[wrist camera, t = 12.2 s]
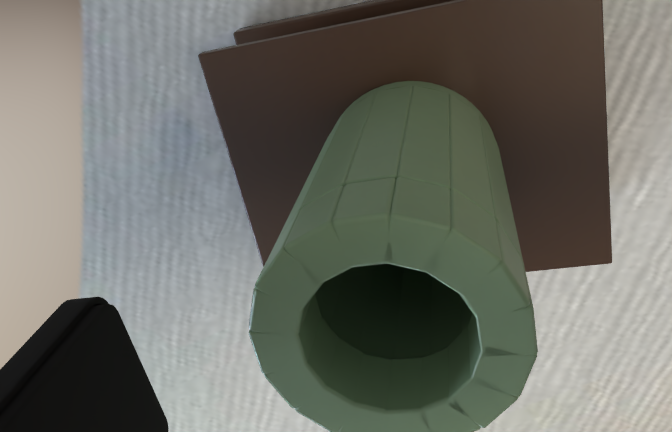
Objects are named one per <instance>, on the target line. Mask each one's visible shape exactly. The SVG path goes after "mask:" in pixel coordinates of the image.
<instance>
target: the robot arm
mask: <svg viewBox="0 0 672 432" xmlns="http://www.w3.org/2000/svg"><path fill="white" fill-rule="evenodd" d="M0 432H168V422H167V419H166V417H165V415H164V412H163V410H162V408H161V406H160V404H159V401H158V399H157V397H156V395H155V392H154V390H153V388H152V386H151V384H150V381H149V379H148V377H147V375H146V372H145V370H144V368H143V366H142V364H141V361H140V359H139V357H138V355H137V352H136V350H135V348H134V346H133V344H132V341H131V339H130V337H129V335H128V332H127V330H126V328H125V326H124V324H123V321H122V319H121V317H120V315H119V313H118V311H117V309H116V308H115V307H114V306H113V305H110V304H108V302H107V301H106V300H105V299H103V298H101V297H92V298H81V299H72V300H67V301H66V302H64V303H63V304H61V306H60V307H59V308H58V309H57V310H56V311H55V312H54V313H53V314H52V315H51V316H50V317H49V318H48V319H47V321H46V322H44V324H43V325H42V326H41V327H40V328H39V329H38V330H37V331H36V332H35V333H34V334H33V335H32V337H30V339H29V340H28V341H27V342H26V343H25V344H24V345H23V346H22V347H21V348H20V349H19V350H18V351H17V352H16V354H15V355H14V356H13V357H12V358H11V359H10V360H9V361H8V362H7V363H6V364H5V365H4V367H2V369H1V370H0Z"/></svg>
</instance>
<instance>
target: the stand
mask: <svg viewBox="0 0 672 432" xmlns="http://www.w3.org/2000/svg"><path fill="white" fill-rule="evenodd" d="M234 37H235V41H236V45H234V46H230V47H225V48H220V49H215V50H210V51H205V52H202V53H201V54H199V55H198V57H199V60H200V63H201V66H202V70H203V73H204V76H205V79H206V83H207V86H208V89H209V92H210V95H211V99H212V102H213V105H214V108H215V112H216V115H217V118H218V121H219V125H220V128H221V131H222V134H223V138H224V141H225V144H226V147H227V151H228V154H229V157H230V160H231V164H232V167H233V170H234V173H235V177H236V180H237V183H238V186H239V190H240V193H241V196H242V199H243V202H244V206H245V209H246V212H247V215H248V219H249V222H250V225H251V228H252V232H253V235H254V238H255V241H256V245H257V248H258V251H259V254H260V258H261V261H262V264H263V267H264V265H265V263H266V261H267V259H268V257H269V255H270V253H271V251H272V249H273V247H274V245H275V243H276V242H277V239H278V237H279V235H280V233H281V231H282V229H283V227H284V225H285V223H286V221H287V219H288V217H289V215H290V213H291V211H292V209H293V207H294V205H295V203H296V200H297V198H298V196H299V194H300V192H301V190H302V188H303V186H304V184H305V182H306V180H307V178H308V176H309V174H310V172H311V170H312V168H313V166H314V164H315V162H316V160H317V158H318V156H319V154H320V152H321V150H322V148H323V146H324V144H325V142H326V140H327V138H328V136H329V134H330V133H331V131H332V130H333V128H334V126H335V124H336V123H337V121H338V119H339V118H340V116H341V115H342V114H343V113H344V111H345V110H346V109H347V108H348V107H349V106H350V105H351V104H352V103H353V102H354V101H355V100H357V99H358V98H360V97H361V96H362V95H364V94H366V93H367V92H369V91H371V90H373V89H375V88H378V87H380V86H383V85H387V84H391V83H395V82H403V81H422V82H429V83H433V84H437V85H440V86H444V87H446V88H448V89H451V90H453V91H455V92H456V93H458V94H460V95H461V96H463V97H465V98H466V99H467V100H468V101H470V102H471V103H472V104H473V105H474V106H475V107H476V108H477V109H478V110H479V111H480V112H481V113H482V115H483V116H484V118H485V119H486V120H487V122H488V124H489V126H490V128H491V129H492V131H493V134H494V137H495V140H496V142H497V145H498V147H499V152H500V156H501V161H502V166H503V170H504V175H505V180H506V184H507V189H508V193H509V198H510V203H511V207H512V212H513V217H514V221H515V226H516V231H517V235H518V240H519V244H520V249H521V254H522V258H523V263H524V267H525V272H529V271H539V270H549V269H559V268H569V267H578V266H588V265H598V264H608V263H612V246H611V219H610V192H609V165H608V138H607V112H606V85H605V58H604V31H603V4H602V0H373V1H368V2H363V3H358V4H354V5H349V6H344V7H339V8H335V9H330V10H325V11H320V12H316V13H311V14H306V15H301V16H297V17H292V18H287V19H282V20H278V21H273V22H268V23H263V24H259V25H254V26H249V27H244V28H241V29H239V30H237V31H236V32H234Z"/></svg>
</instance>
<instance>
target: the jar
mask: <svg viewBox="0 0 672 432" xmlns="http://www.w3.org/2000/svg"><path fill="white" fill-rule="evenodd" d="M249 328H250V330H249V336H250V339H251V342H252V345H253V348H254V351H255V354H256V356H257V359H258V362H259V365H260V368H261V371H262V373H264V376H265V377H266V379H267V380H268V381H269V382H270V383H271V384H272V386H273V387H274V388H275V389H276V390H277V391H278V393H279V394H280V395H281V396H282V397H283V398H284V399H285V401H286V402H287V403H288V404H289V405H290V406H291V407H292V408H295V410H296V411H297V412H298V413H300V414H301V415H303V416H305V417H306V418H308V419H310V420H312V421H313V422H315V423H317V424H318V425H320V426H322V427H323V428H325V429H327V430H328V431H330V432H474V431H476V430H479V429H480V428H481V427H483V428H485V427H486V426H487V425H489V424H490V423H491V422H492V421H493V420H494V419H495V418H497V417H498V416H499V415H500V414H501V413H502V412H503V411H505V410H506V409H507V408H508V407H509V406H510V405H511V404H513V403H514V402H515V401H516V400H517V399H518V396H520V395H521V393H522V390H523V388H524V386H525V383H526V381H527V378H528V376H529V374H530V371H531V369H532V367H533V364H534V362H535V360H536V357H537V352H538V349H537V339H536V330H535V320H534V310H533V304H532V300H531V295H530V290H529V286H528V281H527V277H526V272H525V267H524V263H523V258H522V254H521V249H520V244H519V240H518V235H517V231H516V226H515V221H514V217H513V212H512V207H511V203H510V198H509V193H508V189H507V184H506V180H505V175H504V170H503V166H502V161H501V156H500V152H499V147H498V145H497V142H496V140H495V137H494V134H493V131H492V129H491V128H490V126H489V124H488V122H487V120H486V119H485V118H484V116H483V115H482V113H481V112H480V111H479V110H478V109H477V108H476V107H475V106H474V105H473V104H472V103H471V102H470V101H468V100H467V99H466V98H465V97H463V96H461V95H460V94H458V93H456V92H455V91H453V90H451V89H448V88H446V87H444V86H440V85H437V84H433V83H429V82H422V81H403V82H395V83H391V84H387V85H383V86H380V87H378V88H375V89H373V90H371V91H369V92H367V93H366V94H364V95H362V96H361V97H360V98H358V99H357V100H355V101H354V102H353V103H352V104H351V105H350V106H349V107H348V108H347V109H346V110H345V111H344V113H343V114H342V115H341V116H340V118H339V119H338V121H337V123H336V124H335V126H334V128H333V130H332V131H331V133H330V134H329V136H328V138H327V140H326V142H325V144H324V146H323V148H322V150H321V152H320V154H319V156H318V158H317V160H316V162H315V164H314V166H313V168H312V170H311V172H310V174H309V176H308V178H307V180H306V182H305V184H304V186H303V188H302V190H301V192H300V194H299V196H298V198H297V200H296V203H295V205H294V207H293V209H292V211H291V213H290V215H289V217H288V219H287V221H286V223H285V225H284V227H283V229H282V231H281V233H280V235H279V237H278V239H277V242H276V243H275V245H274V247H273V249H272V251H271V253H270V255H269V257H268V259H267V261H266V263H265V265H264V267H263V269H262V271H261V274H260V276H259V278H258V280H257V282H256V284H255V288H254V291H253V299H252V306H251V314H250V321H249Z"/></svg>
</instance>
